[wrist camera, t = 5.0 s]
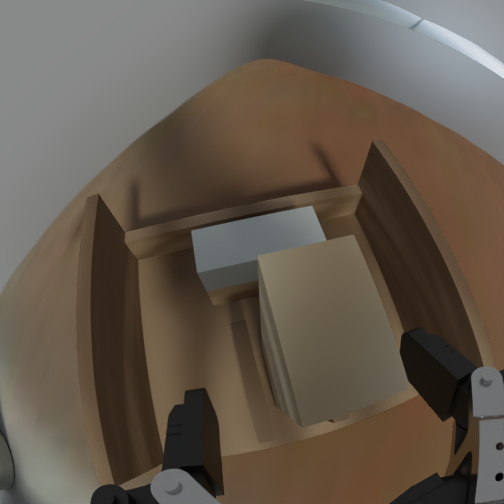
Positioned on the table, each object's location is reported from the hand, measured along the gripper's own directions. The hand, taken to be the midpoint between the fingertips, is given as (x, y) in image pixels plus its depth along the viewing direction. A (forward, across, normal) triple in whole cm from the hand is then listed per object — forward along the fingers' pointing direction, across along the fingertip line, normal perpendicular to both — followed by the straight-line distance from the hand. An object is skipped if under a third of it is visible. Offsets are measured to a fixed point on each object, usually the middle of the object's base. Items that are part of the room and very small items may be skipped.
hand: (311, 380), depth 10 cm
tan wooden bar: (+8, 0, +6) cm, 10 cm away
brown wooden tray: (+11, 0, +4) cm, 12 cm away
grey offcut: (+11, 0, -2) cm, 11 cm away
